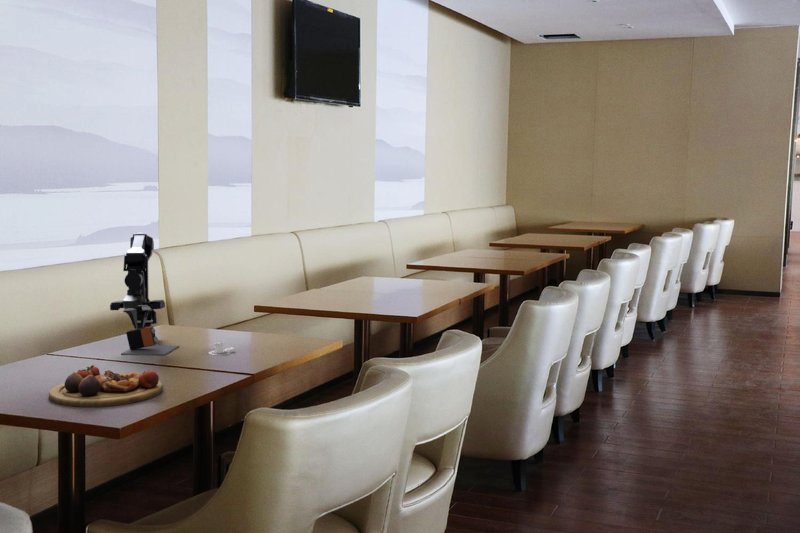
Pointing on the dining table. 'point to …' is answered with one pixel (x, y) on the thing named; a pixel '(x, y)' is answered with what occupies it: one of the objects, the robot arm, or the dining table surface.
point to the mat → (151, 350)
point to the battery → (141, 337)
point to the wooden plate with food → (105, 388)
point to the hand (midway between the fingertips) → (139, 328)
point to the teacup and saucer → (221, 349)
